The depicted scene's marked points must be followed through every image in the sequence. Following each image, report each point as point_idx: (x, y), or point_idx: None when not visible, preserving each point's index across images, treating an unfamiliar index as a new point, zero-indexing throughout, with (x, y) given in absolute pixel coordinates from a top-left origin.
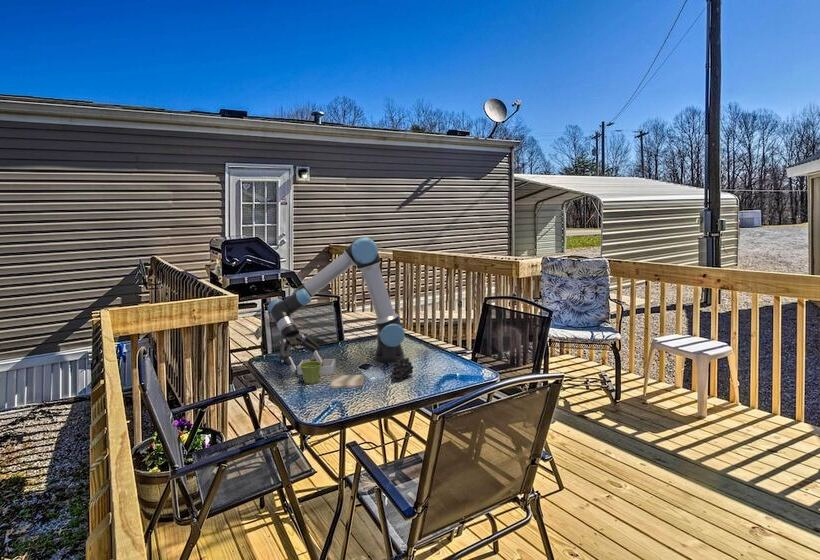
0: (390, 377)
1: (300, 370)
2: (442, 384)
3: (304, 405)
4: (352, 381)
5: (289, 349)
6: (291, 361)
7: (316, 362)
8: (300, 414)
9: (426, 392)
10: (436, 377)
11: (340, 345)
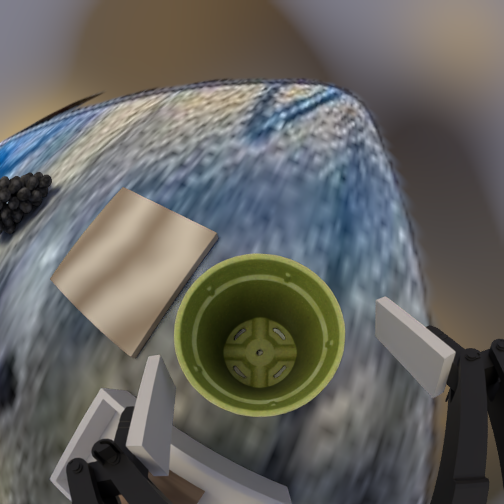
0: (50, 180)
1: (273, 491)
2: (31, 147)
3: (348, 155)
4: (119, 234)
5: (470, 423)
6: (423, 328)
7: (193, 373)
8: (363, 124)
9: (76, 122)
10: None
11: None
